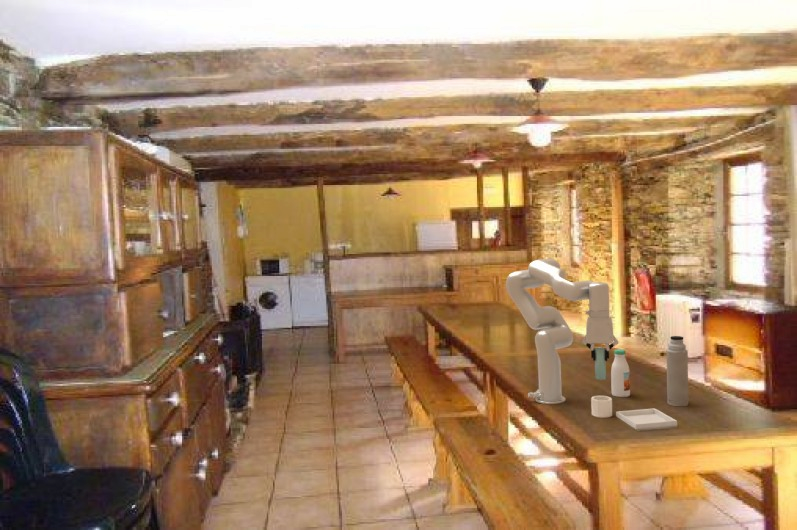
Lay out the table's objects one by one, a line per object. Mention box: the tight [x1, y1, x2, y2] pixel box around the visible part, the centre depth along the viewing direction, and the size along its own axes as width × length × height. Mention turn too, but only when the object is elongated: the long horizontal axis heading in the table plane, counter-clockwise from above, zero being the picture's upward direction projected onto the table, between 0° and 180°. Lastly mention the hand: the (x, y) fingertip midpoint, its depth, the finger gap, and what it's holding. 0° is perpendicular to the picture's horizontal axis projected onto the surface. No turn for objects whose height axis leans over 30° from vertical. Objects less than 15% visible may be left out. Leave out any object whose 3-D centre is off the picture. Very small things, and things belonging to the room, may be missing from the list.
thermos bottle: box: [666, 335, 689, 407], centre depth 264 cm, size 8×8×28 cm
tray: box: [615, 408, 678, 432], centre depth 244 cm, size 16×16×2 cm
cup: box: [590, 395, 613, 418], centre depth 254 cm, size 8×8×7 cm
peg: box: [594, 346, 607, 381], centre depth 253 cm, size 4×4×12 cm
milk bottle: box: [610, 348, 631, 398], centre depth 281 cm, size 8×8×20 cm
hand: (600, 359), depth 253 cm, fingers closed on peg, 4 cm apart
